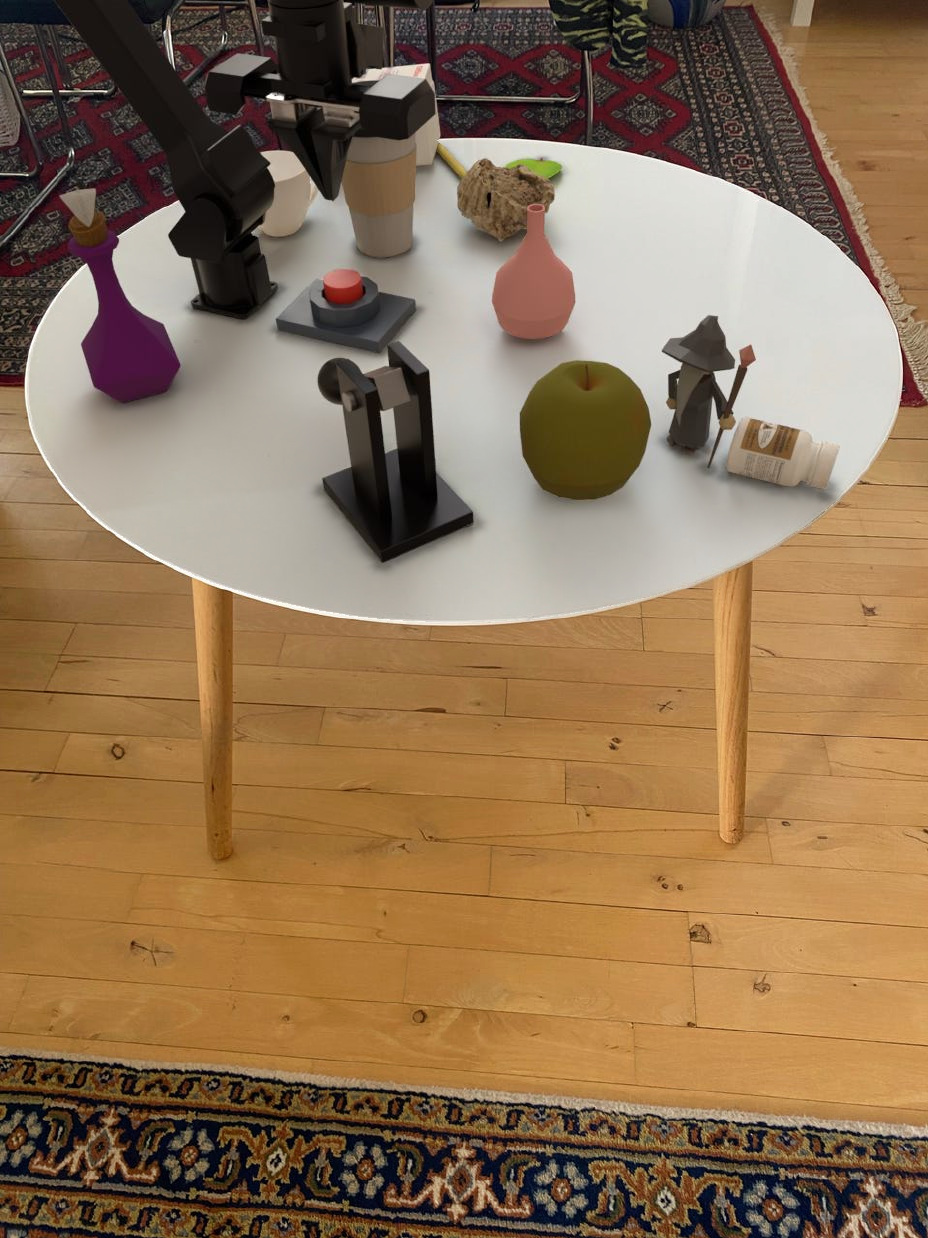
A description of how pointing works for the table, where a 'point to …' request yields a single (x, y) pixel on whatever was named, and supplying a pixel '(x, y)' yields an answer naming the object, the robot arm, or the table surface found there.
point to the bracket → (393, 465)
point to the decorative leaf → (539, 166)
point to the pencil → (451, 160)
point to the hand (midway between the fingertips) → (331, 198)
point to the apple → (584, 430)
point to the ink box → (431, 128)
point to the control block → (348, 317)
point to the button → (343, 286)
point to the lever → (383, 379)
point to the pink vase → (534, 285)
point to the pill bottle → (780, 454)
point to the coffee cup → (380, 191)
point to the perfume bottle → (117, 316)
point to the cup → (287, 194)
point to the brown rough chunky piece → (501, 197)
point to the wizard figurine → (702, 384)
